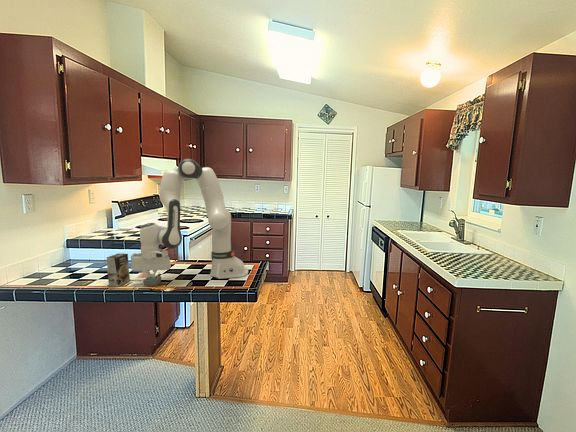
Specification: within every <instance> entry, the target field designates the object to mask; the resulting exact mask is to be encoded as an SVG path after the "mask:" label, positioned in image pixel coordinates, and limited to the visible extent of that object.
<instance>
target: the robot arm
mask: <svg viewBox="0 0 576 432" xmlns="http://www.w3.org/2000/svg"><path fill="white" fill-rule="evenodd" d="M191 180H196V182H197V184H198V186H199V189H200V192H201V195H202V198H203V201H204V206H205V212H206V217H207V219H208V224H209V227H211V228H212V230H211V253H210V257H211V268H210V269H211V270H210V273H209V275H210V276H211V277H214V278H216V279H219V280H220V279H223V280H224V279H230V278H231V279H232V278H243V277H244V278H245V277H246V276H248V274H249V268H246V267H245V264H244V262H243V260H241V259H240V258H238V257H236V256H235V255H236V254H235V250H232V242H231V241H232V240H231V234H232V214H231V212H230V210H228V209H227V208H226V204H225V200H224V195H223V191H222V189H221V186H220V185H221V184H220V182H219V179H218V176H217V175H216V173H215V171H214V170H213V168H211V167H209V166H208V167H207V166H205V167H202V166H201V165H200V164H199V163H198V162H197V161H196V160H194V159H193V158H184V159H182V160H181V161H179V164H178V166H177V168H176V169H167V170H165V171H164V172H163V174H162V177H161V181H160V185H159V187H160V188H159V201H160V202H161V204H162V205H163V206H164V208H165V209H166V212H167V225H166V226H162V225H159V224H157V223H155V222H149V223H144V224H143V225H142V226H141V227H140V230H139V241H140V252H139V253H136V252H135V253H133V254H131V256H130V262H131V264H130V265H131V266H130V267H131V268H130V269H131V271H135V272H138V271H141V272H142V270H146V273H147V274H148V276H149V278H155V273H156V272H157V271H169V270H170V268H171V266H172V264H171V260H170V259H171V258H170V256H169V251H168V250H166V249H162V248H159V247H160V245H162V246H164V247H166V248H167V249H170V250H171V249H172V250H173V249H177V248H178V247H180V245H181V243H182V242H183V235H182V233H181V197H182V196H181V195H182V186H183V185H182V184H183V183H184V182H185V181H191ZM151 271H152V272H151ZM151 273H153V274H151Z"/></svg>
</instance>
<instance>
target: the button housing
mask: <svg viewBox="0 0 576 432" xmlns="http://www.w3.org/2000/svg"><path fill="white" fill-rule="evenodd" d="M155 277H156V279H155V280H149V279H148V278H149V276H148V277H147V278H146V279H144V280H143V281H142V285H143V287H154V286H155V287H157V286H158V285H159V284H160V283H161V282H162V275H158V276H155Z"/></svg>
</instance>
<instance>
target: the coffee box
mask: <svg viewBox="0 0 576 432" xmlns="http://www.w3.org/2000/svg"><path fill="white" fill-rule="evenodd" d="M106 266H107V267H106V268H107V269H106V270H107V279H108V287H117V288H119V287H121V286H123V285H125V284H127V283H129V282H131V281H130V280H131V279H130V278H131V277H130V267H129V254H128V253H116V254H112V255H109V256H107V257H106Z"/></svg>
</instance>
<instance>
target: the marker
mask: <svg viewBox="0 0 576 432" xmlns="http://www.w3.org/2000/svg"><path fill="white" fill-rule="evenodd" d="M141 273H142V276H143V277H147V276H148V274H147V273H146V270H142V271H141Z"/></svg>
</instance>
